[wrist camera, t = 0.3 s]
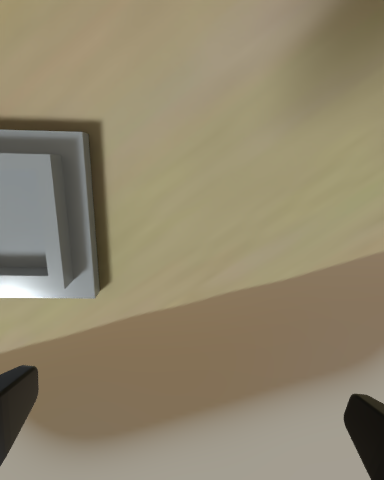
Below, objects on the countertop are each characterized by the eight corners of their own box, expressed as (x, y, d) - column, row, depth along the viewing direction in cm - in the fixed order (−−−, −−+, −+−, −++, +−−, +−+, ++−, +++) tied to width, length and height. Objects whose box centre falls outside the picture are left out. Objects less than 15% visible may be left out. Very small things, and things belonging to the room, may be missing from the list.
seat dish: (-90, 128, 18) (-137, 122, 16) (88, 133, 19) (72, 128, 16) (-52, 290, 22) (-86, 307, 19) (99, 291, 22) (87, 308, 19)
